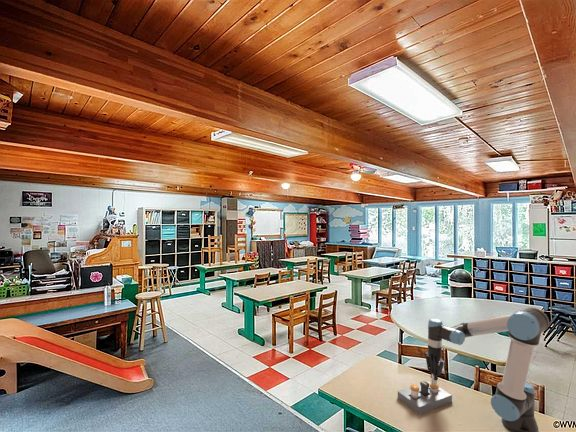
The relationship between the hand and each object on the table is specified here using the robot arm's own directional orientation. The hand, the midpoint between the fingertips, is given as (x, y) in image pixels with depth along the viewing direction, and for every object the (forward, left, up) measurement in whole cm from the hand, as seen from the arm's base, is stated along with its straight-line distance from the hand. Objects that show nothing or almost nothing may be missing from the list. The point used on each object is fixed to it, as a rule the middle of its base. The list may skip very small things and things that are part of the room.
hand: (434, 384), depth 182 cm
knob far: (0, 0, -7) cm, 7 cm away
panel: (0, +8, -7) cm, 11 cm away
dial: (0, +8, -4) cm, 9 cm away
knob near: (0, +16, -4) cm, 17 cm away
